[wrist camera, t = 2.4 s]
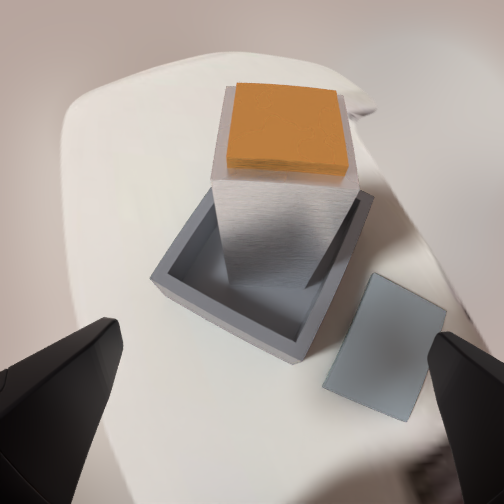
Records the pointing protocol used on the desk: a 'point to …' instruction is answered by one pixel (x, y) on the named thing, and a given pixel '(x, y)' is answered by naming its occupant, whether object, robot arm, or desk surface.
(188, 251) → the case
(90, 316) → the desk surface
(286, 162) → the block
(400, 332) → the mat
